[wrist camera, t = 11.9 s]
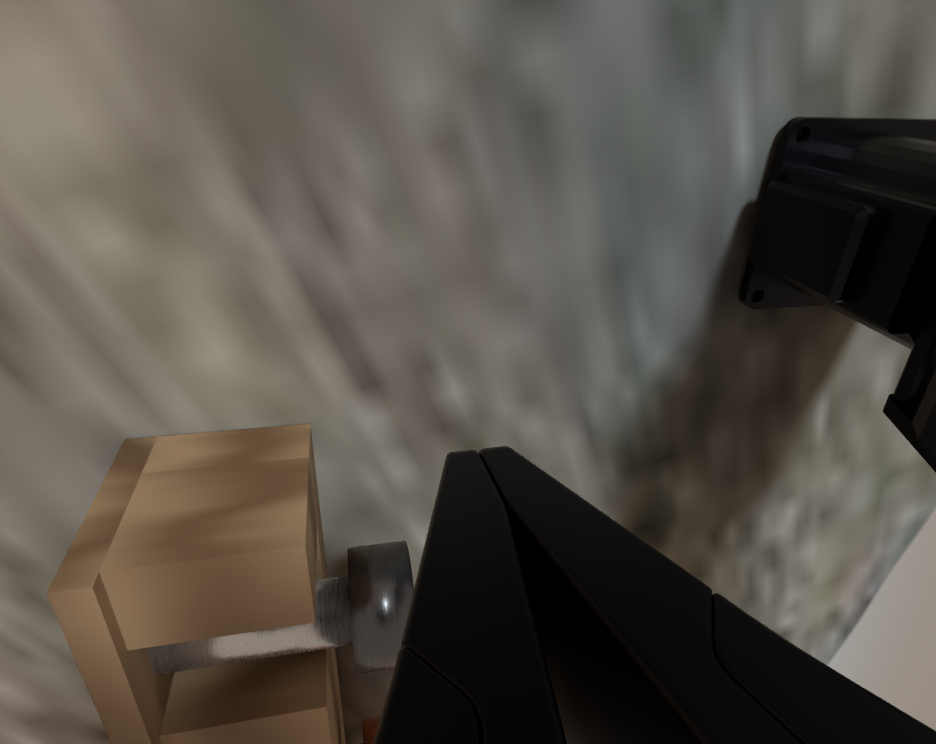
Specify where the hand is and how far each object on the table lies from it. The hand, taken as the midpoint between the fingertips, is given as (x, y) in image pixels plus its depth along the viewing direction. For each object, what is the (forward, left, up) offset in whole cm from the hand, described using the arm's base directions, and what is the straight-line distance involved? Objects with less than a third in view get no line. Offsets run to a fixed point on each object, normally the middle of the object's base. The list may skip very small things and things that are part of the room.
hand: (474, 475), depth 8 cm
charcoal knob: (+4, +12, -10) cm, 16 cm away
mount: (+6, +17, -12) cm, 21 cm away
